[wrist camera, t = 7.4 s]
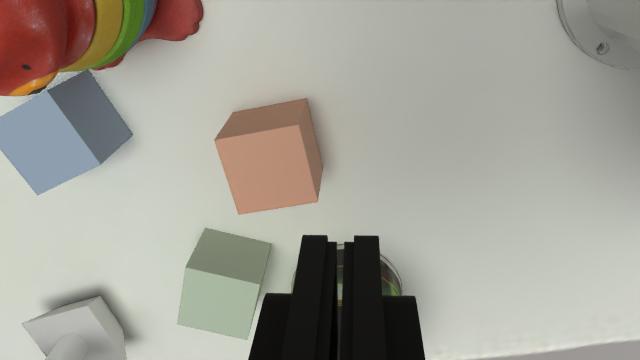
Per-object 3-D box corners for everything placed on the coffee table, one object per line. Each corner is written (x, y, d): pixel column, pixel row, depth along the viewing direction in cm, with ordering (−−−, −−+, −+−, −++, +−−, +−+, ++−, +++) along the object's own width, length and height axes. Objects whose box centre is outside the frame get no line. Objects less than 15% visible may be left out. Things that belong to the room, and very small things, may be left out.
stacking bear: (89, 75, 40) (-86, 173, 24) (15, -59, 36) (-255, -47, 20) (213, 27, 38) (109, 100, 22) (147, -121, 34) (-38, -163, 18)
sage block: (271, 242, 46) (259, 284, 41) (259, 294, 49) (247, 339, 43) (205, 227, 46) (185, 267, 40) (197, 280, 48) (177, 324, 43)
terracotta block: (306, 97, 40) (298, 124, 35) (322, 167, 42) (317, 201, 37) (233, 112, 41) (214, 140, 35) (253, 178, 43) (238, 214, 38)
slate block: (88, 68, 40) (46, 90, 35) (133, 134, 42) (100, 164, 37) (30, 100, 42) (-18, 126, 36) (76, 162, 44) (37, 195, 38)
